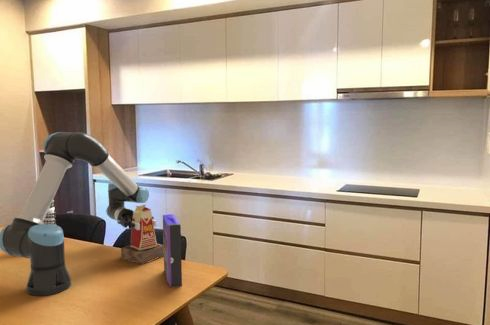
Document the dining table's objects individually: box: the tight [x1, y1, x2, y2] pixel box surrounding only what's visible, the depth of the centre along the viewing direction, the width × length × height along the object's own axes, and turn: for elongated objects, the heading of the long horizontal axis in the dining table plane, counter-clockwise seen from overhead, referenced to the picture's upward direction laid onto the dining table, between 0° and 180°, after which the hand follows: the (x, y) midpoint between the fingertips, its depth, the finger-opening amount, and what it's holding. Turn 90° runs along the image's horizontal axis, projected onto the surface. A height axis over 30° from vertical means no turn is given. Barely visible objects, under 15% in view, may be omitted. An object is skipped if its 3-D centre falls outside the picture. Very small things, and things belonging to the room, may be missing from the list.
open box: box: [120, 243, 164, 265], centre depth 184 cm, size 14×14×5 cm
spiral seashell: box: [43, 199, 57, 225], centre depth 197 cm, size 9×9×25 cm
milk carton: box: [130, 203, 158, 251], centre depth 183 cm, size 9×9×20 cm
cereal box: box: [162, 213, 183, 288], centre depth 160 cm, size 17×5×24 cm, turn 18°
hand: (147, 225), depth 179 cm, fingers closed on milk carton, 7 cm apart
